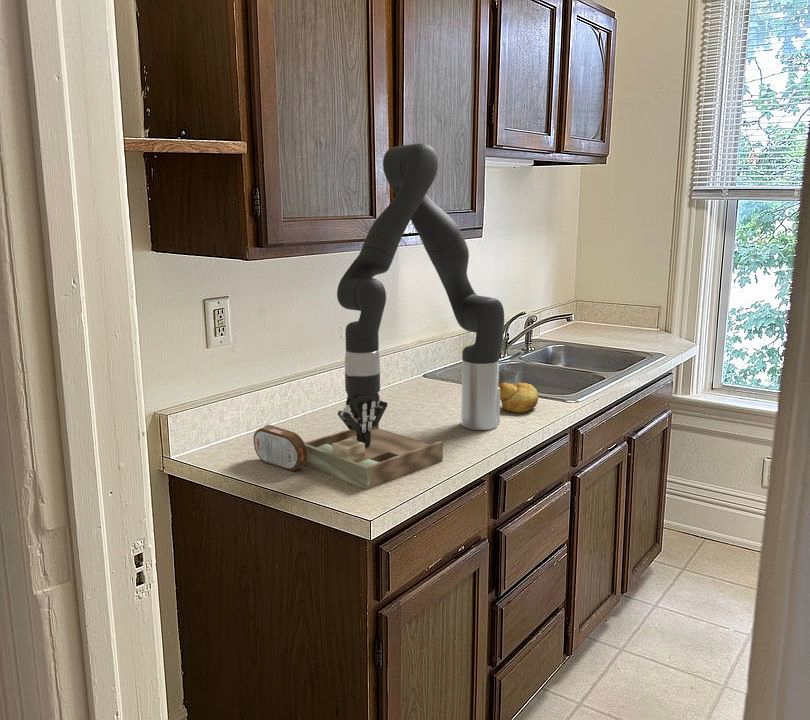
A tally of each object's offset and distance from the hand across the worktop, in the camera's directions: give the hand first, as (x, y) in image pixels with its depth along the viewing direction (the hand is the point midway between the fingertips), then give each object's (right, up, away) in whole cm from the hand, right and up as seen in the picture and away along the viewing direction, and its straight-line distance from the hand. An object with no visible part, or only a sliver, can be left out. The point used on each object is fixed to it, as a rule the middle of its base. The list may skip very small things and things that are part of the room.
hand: (363, 447), depth 166 cm
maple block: (-3, -2, -3) cm, 4 cm away
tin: (-19, -4, +1) cm, 19 cm away
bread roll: (+41, +6, +44) cm, 60 cm away
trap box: (+2, -3, +3) cm, 5 cm away
